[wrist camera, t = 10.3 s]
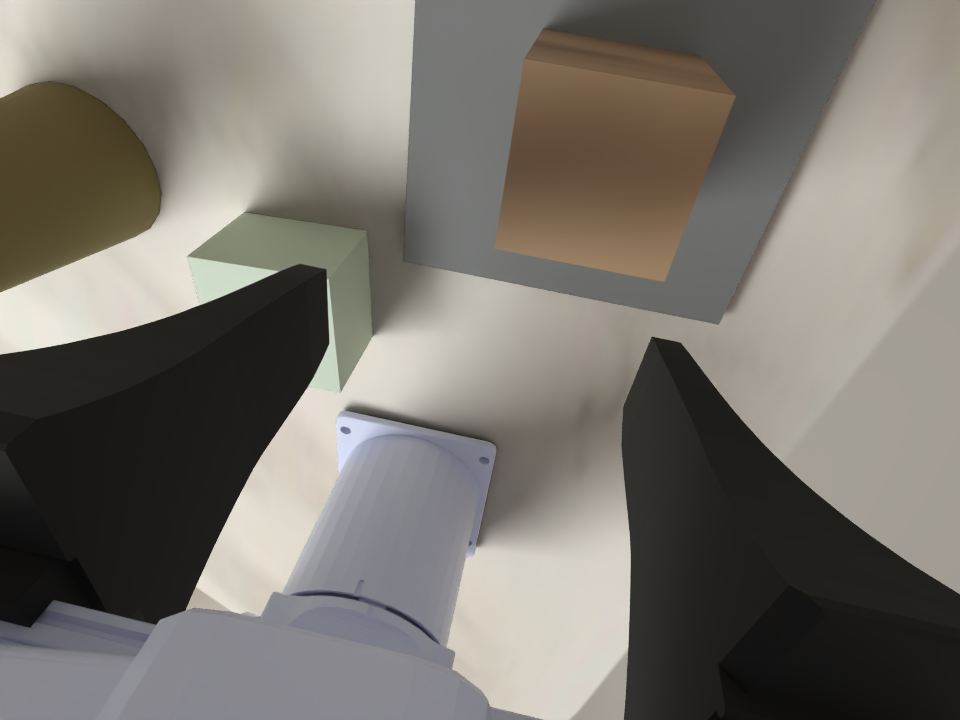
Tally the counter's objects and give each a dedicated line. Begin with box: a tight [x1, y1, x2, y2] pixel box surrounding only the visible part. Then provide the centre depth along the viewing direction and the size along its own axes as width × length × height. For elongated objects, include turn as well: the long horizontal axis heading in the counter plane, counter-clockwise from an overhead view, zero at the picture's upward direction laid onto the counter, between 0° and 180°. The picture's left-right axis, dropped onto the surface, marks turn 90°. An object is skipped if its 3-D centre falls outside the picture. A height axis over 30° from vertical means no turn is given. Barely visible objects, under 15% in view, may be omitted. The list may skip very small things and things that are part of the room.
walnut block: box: [494, 29, 736, 282], centre depth 15 cm, size 4×4×5 cm
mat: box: [403, 0, 876, 324], centre depth 17 cm, size 12×12×1 cm
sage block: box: [187, 212, 373, 393], centre depth 22 cm, size 5×5×4 cm
